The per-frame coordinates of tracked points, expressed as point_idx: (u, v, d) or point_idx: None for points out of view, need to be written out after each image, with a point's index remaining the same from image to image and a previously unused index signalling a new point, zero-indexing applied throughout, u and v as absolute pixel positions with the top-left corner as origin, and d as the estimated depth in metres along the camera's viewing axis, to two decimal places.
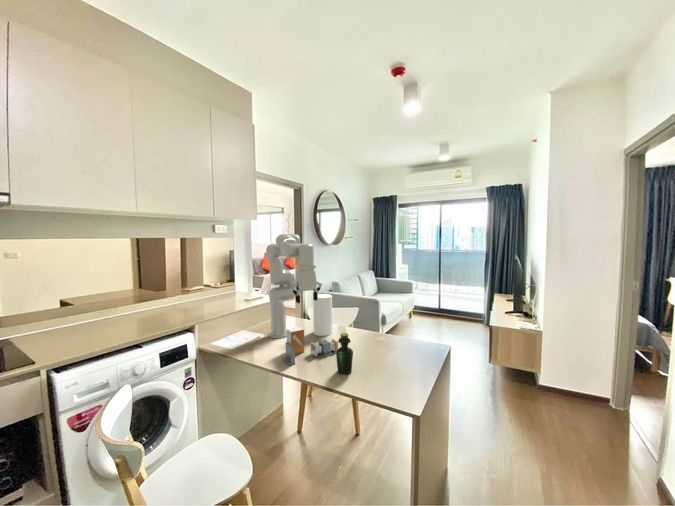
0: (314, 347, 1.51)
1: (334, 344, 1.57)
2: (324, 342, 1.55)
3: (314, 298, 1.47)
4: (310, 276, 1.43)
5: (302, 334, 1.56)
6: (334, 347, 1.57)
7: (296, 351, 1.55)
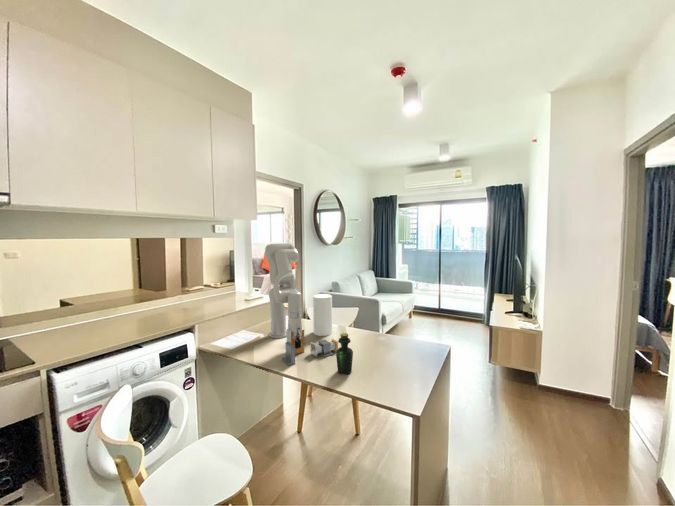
0: (314, 347, 1.51)
1: (334, 344, 1.57)
2: (324, 342, 1.55)
3: None
4: None
5: (302, 334, 1.56)
6: (334, 347, 1.57)
7: (296, 351, 1.55)
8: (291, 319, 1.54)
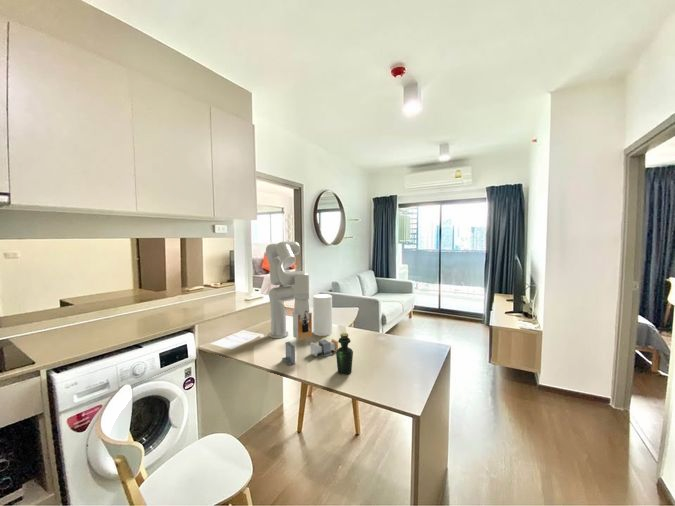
0: (314, 347, 1.51)
1: (334, 344, 1.57)
2: (324, 342, 1.55)
3: None
4: None
5: (309, 317, 1.47)
6: (334, 347, 1.57)
7: (304, 335, 1.46)
8: (298, 301, 1.45)
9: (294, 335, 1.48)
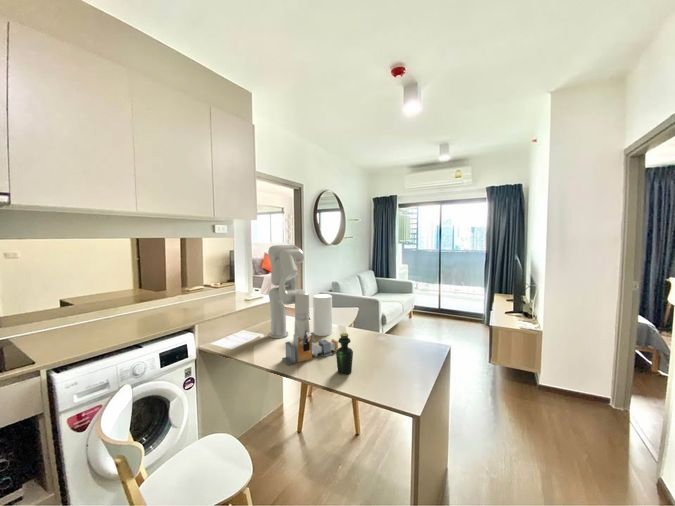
0: (314, 347, 1.51)
1: (334, 344, 1.57)
2: (324, 342, 1.55)
3: None
4: None
5: (310, 340, 1.48)
6: (334, 347, 1.57)
7: (304, 357, 1.46)
8: (298, 321, 1.46)
9: None
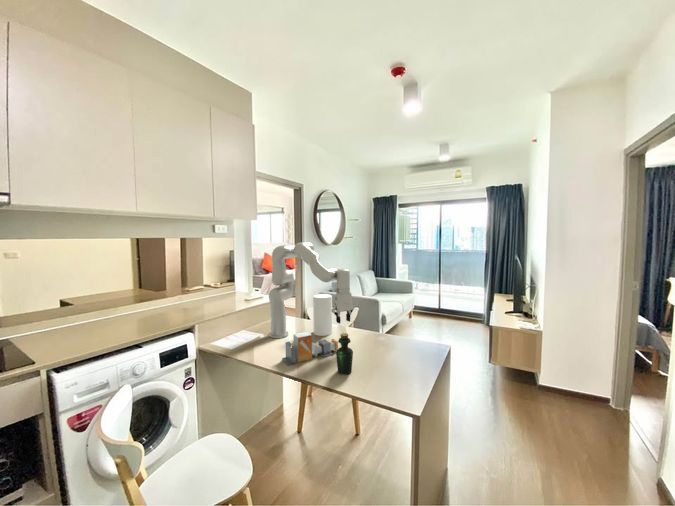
0: (314, 347, 1.51)
1: (334, 344, 1.57)
2: (324, 342, 1.55)
3: None
4: None
5: (310, 340, 1.48)
6: (334, 347, 1.57)
7: (304, 357, 1.46)
8: (347, 295, 1.59)
9: None
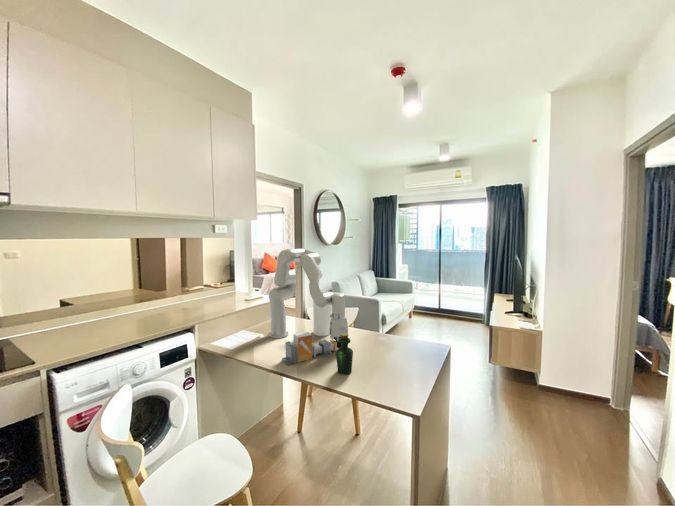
0: (313, 347, 1.50)
1: (333, 344, 1.57)
2: (324, 342, 1.55)
3: None
4: None
5: (310, 340, 1.48)
6: (333, 347, 1.57)
7: (304, 357, 1.46)
8: (343, 320, 1.58)
9: None
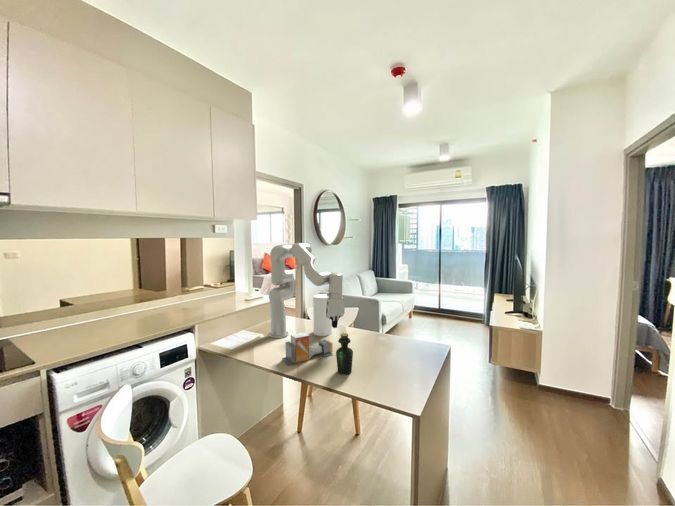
0: None
1: None
2: (324, 342, 1.55)
3: None
4: None
5: (307, 340, 1.47)
6: None
7: (301, 358, 1.46)
8: (339, 300, 1.57)
9: None
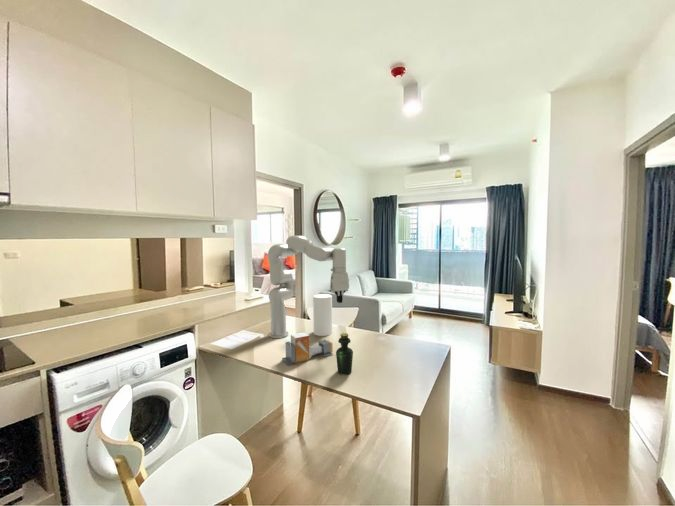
0: None
1: None
2: (324, 342, 1.55)
3: None
4: None
5: (307, 340, 1.47)
6: None
7: (301, 358, 1.46)
8: (343, 274, 1.57)
9: None
